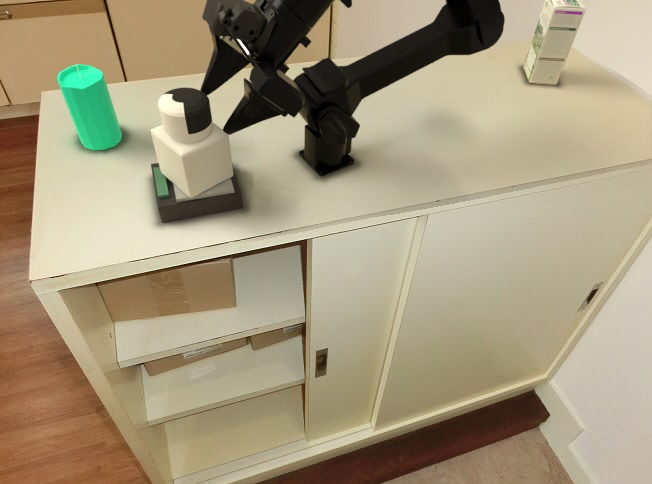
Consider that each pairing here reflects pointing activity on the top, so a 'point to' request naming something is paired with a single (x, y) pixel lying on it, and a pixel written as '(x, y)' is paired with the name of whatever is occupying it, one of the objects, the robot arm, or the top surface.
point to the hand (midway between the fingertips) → (214, 112)
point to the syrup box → (553, 40)
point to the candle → (90, 106)
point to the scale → (194, 198)
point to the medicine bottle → (191, 142)
